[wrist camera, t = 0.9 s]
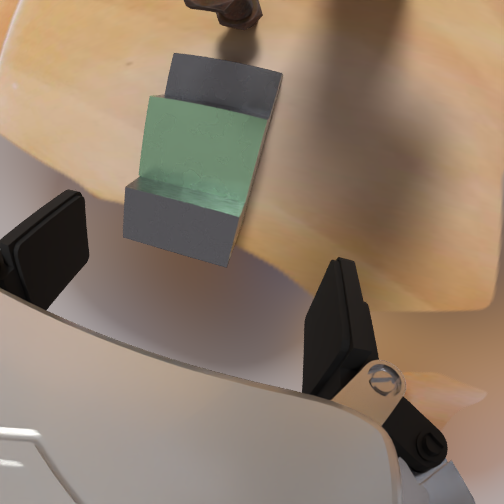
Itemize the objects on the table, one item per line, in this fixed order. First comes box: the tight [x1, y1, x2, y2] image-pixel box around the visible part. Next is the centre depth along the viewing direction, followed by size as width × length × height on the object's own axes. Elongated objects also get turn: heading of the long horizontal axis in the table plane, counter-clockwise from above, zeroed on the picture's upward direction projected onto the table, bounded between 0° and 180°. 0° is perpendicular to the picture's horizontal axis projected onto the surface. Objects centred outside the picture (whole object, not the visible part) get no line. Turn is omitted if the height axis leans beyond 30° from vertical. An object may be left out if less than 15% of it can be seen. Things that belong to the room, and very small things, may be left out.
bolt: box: [184, 0, 263, 30], centre depth 21 cm, size 6×5×15 cm
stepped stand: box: [123, 53, 283, 267], centre depth 31 cm, size 20×12×10 cm, turn 166°
